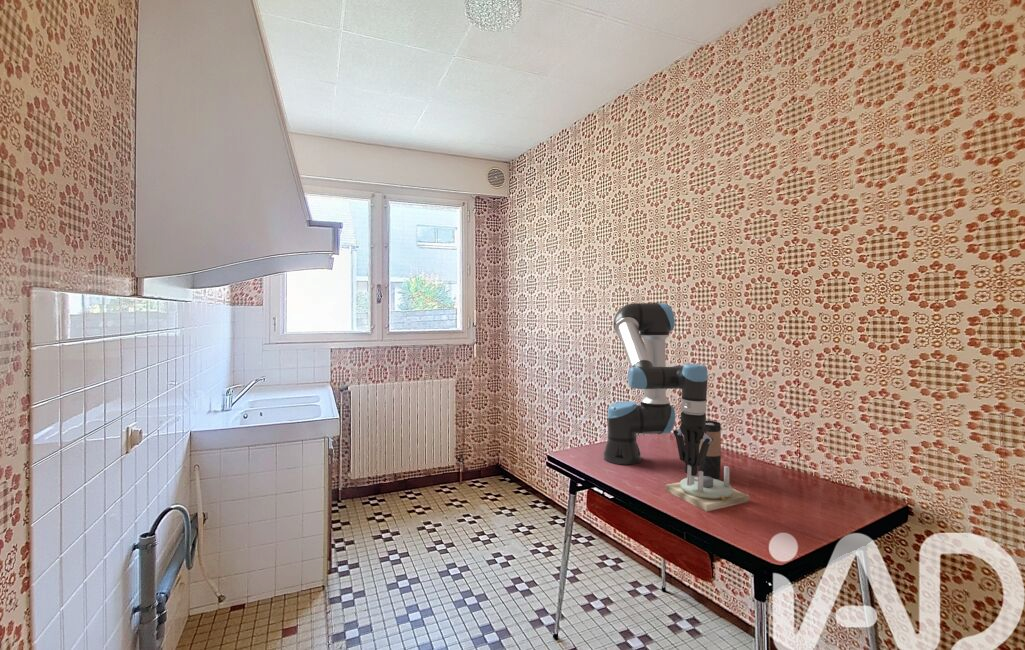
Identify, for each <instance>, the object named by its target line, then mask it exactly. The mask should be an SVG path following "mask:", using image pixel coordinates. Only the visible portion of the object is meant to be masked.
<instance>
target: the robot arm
mask: <svg viewBox="0 0 1025 650" xmlns="http://www.w3.org/2000/svg"><path fill="white" fill-rule="evenodd" d="M674 314H675V313H674V311H673V309H672V307H671V306H670V305H669V304H668V303H664V302H643V303H642V302H638V303H637V302H633V303H628V304H626V305H624V306H622V307H620V308H619V310H618V311H617V312H616V314H615V316H614V319H613V328H614V332H615V333H616V335H617V336H618V337H619V338H620V342H621V344H622V346H623V350H624V352H625V356H626V358H627V360H628V363H629V366H630V367H629V368H628V370H627V384H628V386H629V388H631V389H633V390H644V391H643V393H644V396H643V398H641V400H640V404H639V405H638V404H637V403H636V402H635V401H626V400H625V401H618V402H614V403H612V404H610V405H609V406H608V408H607V417H606V418H607V441H606V444H605V447H604V450H603V460H605V461H606V462H609V463H611V464H615V465H616V464H617V465H634V464H638V463H641V461H642V453H641V451H640V448H639V445H638V441H637V435H662V434H669V433H671V432H673V434H674V437H675V440H676V441H675V442H676V447H677V451H678V456H679V460H680V461H681V462H683V463H684V464H685V465H684V467H685V468H684V469H685V471H684V472H685V474H686V478H687V485H689V486H691V485H693V484H694V481H695V477H697V476H698V467H699V466H700V465H702V464H704V461H705V457H706V454H707V451H708V448H709V445H710V443H711V442H712V441H713V438H710V437H709V436H708V435H707V434H706V430H705V425H706V421H707V415H706V413H707V399H708V398H707V397H708V396H707V395H708V394H707V393H708V380H709V375H708V367H707V366H706V365H704V364H699V363H685V364H684V365H681V364H678V365H677V364H676V365H674V366H666V362H667V361H666V360H667V358H666V355H667V354H666V352H667V351H666V348H667V347H666V346H667V345H666V340H667V338H669V336H670V332H672V331H674V329H675V322H676V321H675V315H674ZM670 389H671V390H673V389H674V390H675V389H676V390H677V389H678V390H679V389H680V390H681V407H680V408H681V412H680V423H681V424H680V426H679V428H678V429H674V427H675V424H676V410H675V408H674V406H673V405H671V402H670V400H669V399H668V398H667V390H670ZM673 429H674V430H673ZM702 438H703V443H702V446H701V449H700V452H699V445H700V442H701V439H702Z"/></svg>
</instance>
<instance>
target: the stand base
mask: <svg viewBox="0 0 1025 650" xmlns="http://www.w3.org/2000/svg"><path fill="white" fill-rule="evenodd" d="M680 482H681V481H679V482H678V481H677V482H673V483H667V484H665V491H666V492H667V493H669V494H672V495H673V496H675V497H677V498H679V499H681V500H683V501H685V502H687V503H688V504H691V505H693V506H695V507H697V508H699V509H700V510H703V511H704V512H706V513H707V512H710V511H714V510H720V509H723V508H728V507H732V506H736V505H741V504H745V503H749V502H750V494H746V493H744V492H742V491H739V490H737V489H735V488H733V494H732V495H731V496H730V497H728V498H726V496H721V499H709V498H702V497H697V496H694V495H691V494H688V493H686V492H685V491H683V490H682V489H681V487H680Z"/></svg>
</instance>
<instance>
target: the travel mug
mask: <svg viewBox="0 0 1025 650" xmlns="http://www.w3.org/2000/svg"><path fill="white" fill-rule="evenodd" d="M721 426H722V425H721V422H719V421H716V420H706V425H705V430H706V434H707V435H708V436H709V437H710V438H713V441H712V442H711V443H710V445H709V448H708V451H707V454H706V457H705V461H704V464H702V465H700V466H698V471H702V472H703V476H708V477H711V478H713V479H717V480H720V478H721V463H722V462H721V459H722V456H721V455H722V444H721V443H722V430H721V429H722V428H721ZM702 443H703V438H702V439H701V442H700V445H699V452H700V449H701V446H702Z"/></svg>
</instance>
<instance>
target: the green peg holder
mask: <svg viewBox="0 0 1025 650" xmlns="http://www.w3.org/2000/svg"><path fill="white" fill-rule="evenodd" d="M679 482H680V487H681V489H682V490H683V491H685V492H686V493H688V494H691V495H694V496H697V497H702V498H709V499H721V496H726V498H728V497H730V496H731V495H732V494H733V489H734V488H733V487H732V485H730V467H729V466H728V465H727V466H726V465H724V466H723V481H722V480H720V479H713V478H711V477H708V476H703V472H702V471H699V470H697V476H695V481H694V484H693V485H691V486H689V485H687V477H685V478H683V479H681V480H680V481H679Z"/></svg>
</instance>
